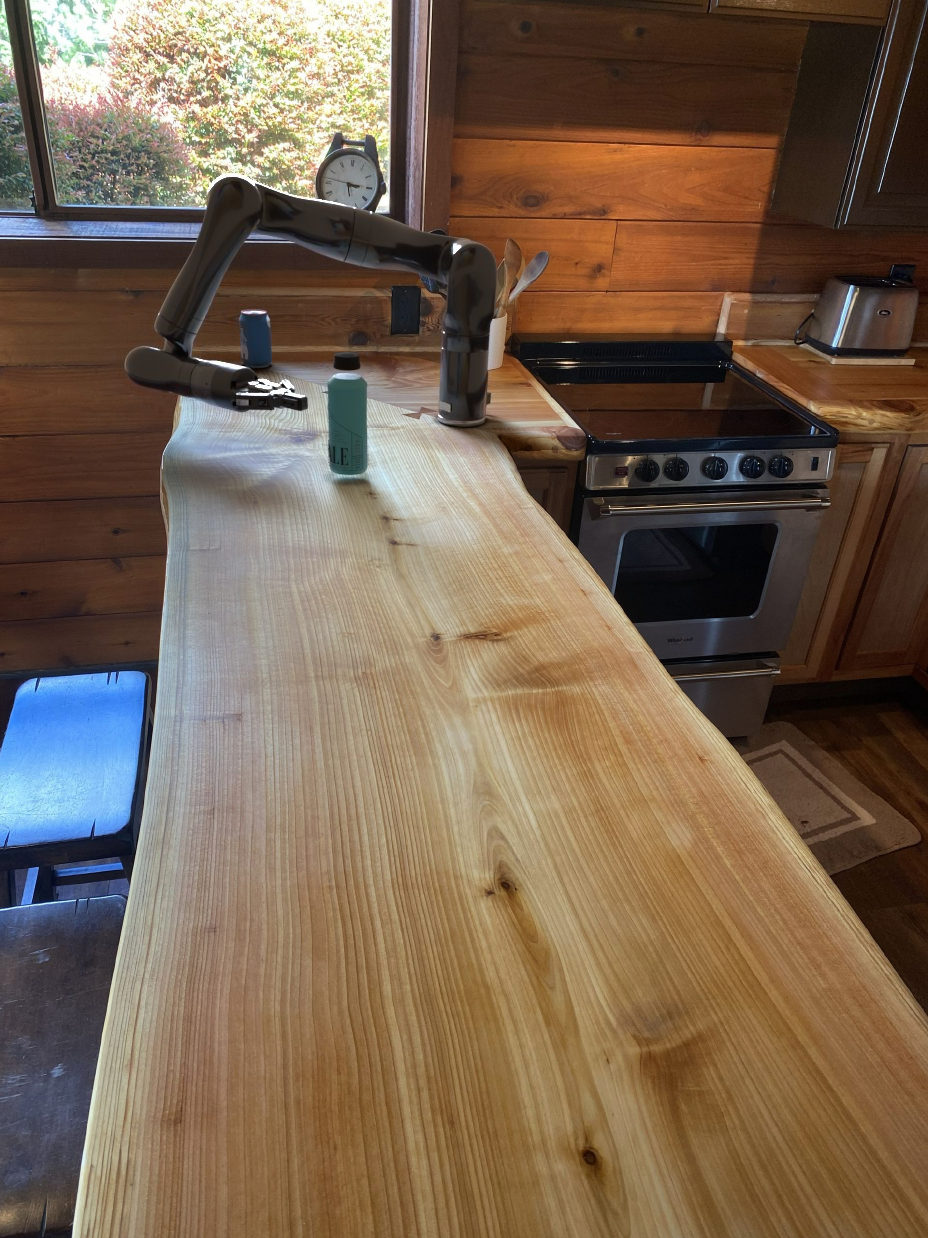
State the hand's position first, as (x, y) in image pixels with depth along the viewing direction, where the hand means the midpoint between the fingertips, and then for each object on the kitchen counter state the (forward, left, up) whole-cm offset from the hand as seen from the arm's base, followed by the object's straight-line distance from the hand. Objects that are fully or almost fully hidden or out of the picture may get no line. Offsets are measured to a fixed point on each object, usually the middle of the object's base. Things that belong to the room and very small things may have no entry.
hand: (305, 403), depth 146 cm
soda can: (-48, -53, -11) cm, 73 cm away
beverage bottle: (0, +9, -11) cm, 14 cm away
